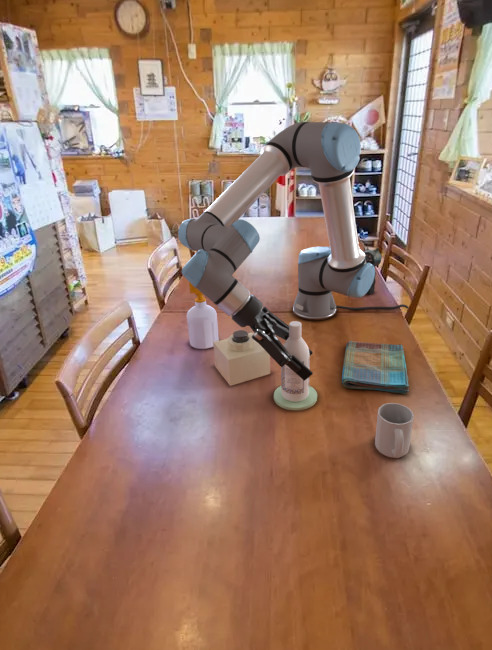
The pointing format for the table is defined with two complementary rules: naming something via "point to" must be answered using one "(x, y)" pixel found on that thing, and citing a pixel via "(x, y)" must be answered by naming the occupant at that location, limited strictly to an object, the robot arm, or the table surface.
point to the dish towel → (375, 367)
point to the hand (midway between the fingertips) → (308, 365)
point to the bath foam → (290, 381)
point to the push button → (240, 336)
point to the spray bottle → (202, 322)
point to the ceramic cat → (372, 262)
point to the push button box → (241, 360)
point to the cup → (393, 429)
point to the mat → (295, 405)
